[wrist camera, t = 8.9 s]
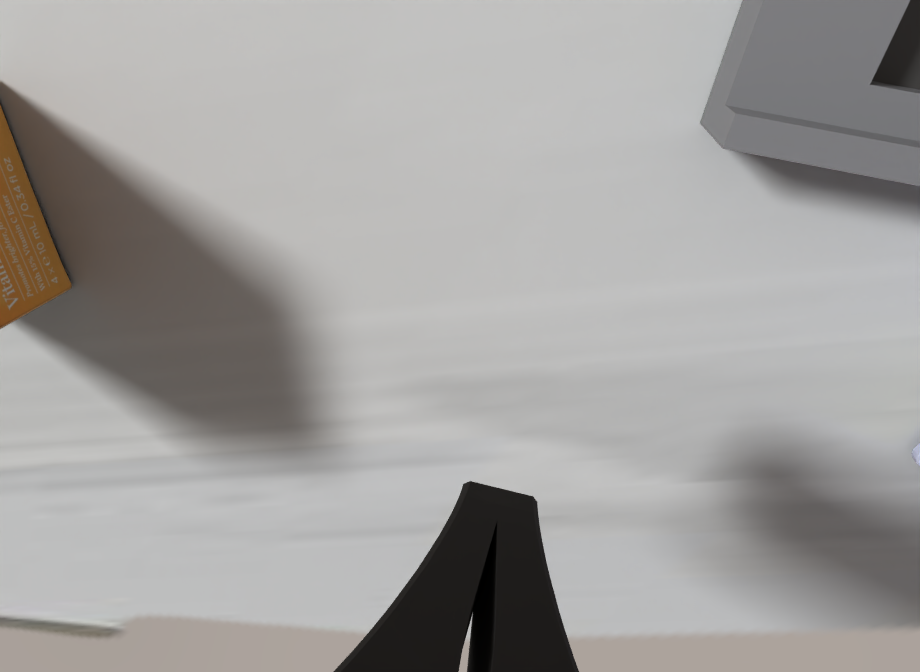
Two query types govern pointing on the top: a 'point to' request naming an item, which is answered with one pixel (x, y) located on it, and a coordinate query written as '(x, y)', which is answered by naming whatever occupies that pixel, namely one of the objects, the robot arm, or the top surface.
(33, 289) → the small box
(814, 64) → the grey divided tray
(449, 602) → the robot arm
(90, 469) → the top surface
